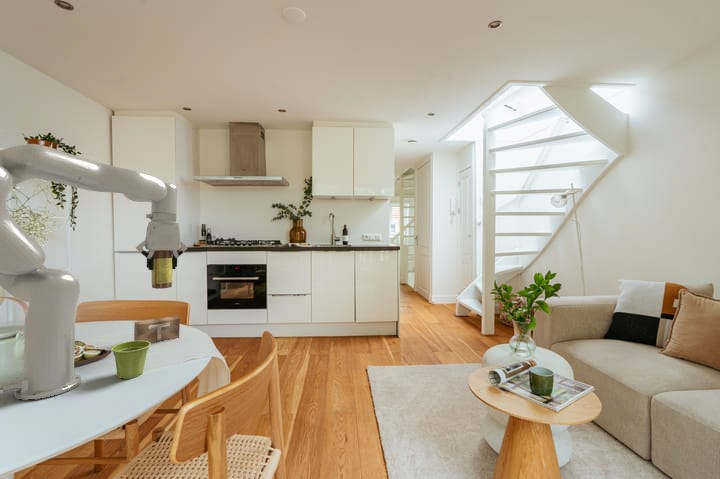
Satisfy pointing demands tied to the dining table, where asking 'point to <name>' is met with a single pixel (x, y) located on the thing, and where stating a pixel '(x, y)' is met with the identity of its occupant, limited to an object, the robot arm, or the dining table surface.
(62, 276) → the robot arm
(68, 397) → the dining table surface
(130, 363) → the plant pot
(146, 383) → the dining table surface
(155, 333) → the letter block
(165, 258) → the sauce bottle
